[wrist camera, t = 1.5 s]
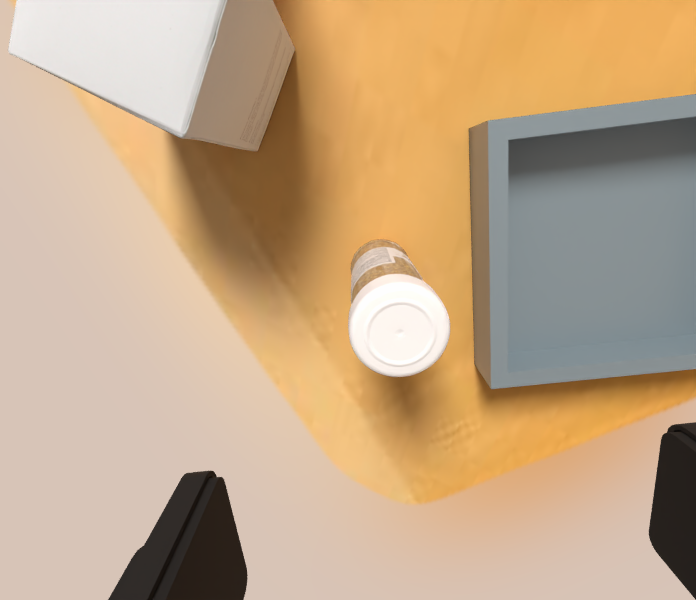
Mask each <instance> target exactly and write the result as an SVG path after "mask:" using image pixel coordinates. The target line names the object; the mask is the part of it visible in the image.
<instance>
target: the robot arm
mask: <svg viewBox="0 0 696 600" xmlns="http://www.w3.org/2000/svg"><path fill="white" fill-rule="evenodd" d="M649 537H650V541H651V543H652V545H653V547H654V549H655V550H656V552H657V553H658V555H659V556H660V557H661V558H662V559H663V561H664V562H665V563H666V564H667V565H668V567H669V568H670V569H671V570H672V571H673V573H674V574H675V575H676V576H677V577H678V579H679V580H680V581H681V582H682V584H683V585H684V586H685V587H686V588H687V590H688V591H689V592H690V593H691V594H692V596H693V597H694V598H695V599H696V423H685V424H676V425H672V426H671V427H669V428H668V431H667V433H665V434H664V435H663V436H662V439H661V445H660V453H659V461H658V467H657V475H656V482H655V490H654V497H653V504H652V512H651V519H650V527H649ZM246 586H247V568H246V564H245V560H244V556H243V552H242V548H241V544H240V540H239V536H238V533H237V529H236V524H235V521H234V517H233V513H232V509H231V505H230V501H229V497H228V493H227V489H226V485H225V482H224V479H223V478H222V477H216V474H215V473H214V471H203V472H193V473H186V474H185V475H184V476H183V477H182V478H181V480H180V482H179V484H178V486H177V487H176V489H175V491H174V493H173V495H172V497H171V499H170V500H169V502H168V504H167V505H166V507H165V509H164V511H163V513H162V514H161V516H160V518H159V520H158V522H157V523H156V525H155V527H154V529H153V530H152V532H151V534H150V536H149V538H148V539H147V541H146V543H145V545H144V546H143V547H141V548H140V549H139V550H138V551H137V552H136V553H135V555H134V556H133V558H132V559H131V561H130V563H129V564H128V566H127V568H126V570H125V571H124V573H123V575H122V577H121V579H120V580H119V582H118V584H117V585H116V587H115V589H114V591H113V592H112V594H111V596H110V598H109V599H108V600H243V599H244V595H245V591H246Z"/></svg>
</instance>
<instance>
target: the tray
mask: <svg viewBox="0 0 696 600" xmlns="http://www.w3.org/2000/svg"><path fill="white" fill-rule="evenodd" d="M469 160H470V201H471V241H472V282H473V323H474V363H475V366H476V367H477V369H478V370H479V372H480V373H481V375H482V376H483V378H484V379H485V381H486V382H487V384H488V385H489V387H490V388H491V389H498V388H508V387H518V386H528V385H538V384H548V383H559V382H569V381H579V380H589V379H599V378H609V377H619V376H630V375H640V374H650V373H660V372H670V371H680V370H690V369H696V94H694V95H686V96H678V97H670V98H662V99H654V100H646V101H639V102H631V103H623V104H615V105H607V106H599V107H592V108H584V109H576V110H568V111H560V112H552V113H545V114H537V115H529V116H521V117H513V118H505V119H498V120H490V121H486V122H484V123H481V124H479V125H476V126H474V127H472V128H469Z"/></svg>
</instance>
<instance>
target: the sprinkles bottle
mask: <svg viewBox="0 0 696 600" xmlns="http://www.w3.org/2000/svg"><path fill="white" fill-rule="evenodd" d="M351 275H352V277H351V308H350V312H349V322H348V328H349V338H350V343H351V345H352V348H353V350H354V352H355V354H356V355H357V357H358V358H359V360H360V361H361V362H362V363H363V364H364V365H366V366H367V367H368V368H370V369H371V370H373V371H375V372H377V373H379V374H382V375H385V376H391V377H406V376H411V375H414V374H417V373H420V372H422V371H424V370H426V369H427V368H429V367H430V366H431V365H433V364H434V363H435V362H436V361H437V360H438V359H439V358H440V356H441V355H442V353H443V352H444V350H445V348H446V346H447V343H448V340H449V336H450V320H449V316H448V313H447V310H446V308H445V306H444V304H443V303H442V301H441V299H440V298H439V297H438V295H437V294H436V293H435V291H434V290H433V289H432V288H431V287H430V286H429V285H428V284H427V283H425V282H424V281H423V279H422V277H421V276H420V274H419V272H418V271H417V269H416V268H415V266H414V265H413V263H412V262H411V261H410V259H409V258H408V256H407V254H406V252H405V251H404V250H403V249H402V248H401V247H400V246H399V245H398V244H396V243H394V242H392V241H389V240H384V239H380V240H372V241H370V242H368V243H366V244H364V245H363V246H361V247H360V248H359V249H358V251H357V252H356V253H355V254H354V257H353V260H352V263H351Z"/></svg>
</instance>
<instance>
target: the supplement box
mask: <svg viewBox="0 0 696 600" xmlns="http://www.w3.org/2000/svg"><path fill="white" fill-rule="evenodd" d="M294 51H295V47H294V45H293V43H292V41H291V39H290V36H289V34H288V32H287V30H286V28H285V26H284V24H283V21H282V19H281V17H280V15H279V13H278V10H277V8H276V6H275V4H274V2H273V0H17V2H16V7H15V13H14V19H13V25H12V31H11V36H10V42H9V47H8V52H9V54H11V55H14V56H16V57H18V58H20V59H22V60H24V61H26V62H28V63H30V64H32V65H34V66H36V67H38V68H40V69H42V70H44V71H46V72H48V73H50V74H52V75H54V76H56V77H58V78H60V79H62V80H64V81H67V82H69V83H71V84H73V85H75V86H77V87H79V88H81V89H83V90H85V91H87V92H89V93H91V94H93V95H95V96H97V97H99V98H100V99H102V100H104V101H106V102H108V103H110V104H112V105H114V106H116V107H118V108H120V109H122V110H124V111H126V112H128V113H130V114H132V115H134V116H136V117H138V118H140V119H143V120H145V121H147V122H149V123H151V124H153V125H155V126H157V127H159V128H161V129H163V130H165V131H167V132H169V133H171V134H173V135H175V136H177V137H179V138H182V139H194V140H200V141H205V142H210V143H215V144H219V145H223V146H228V147H232V148H237V149H243V150H249V151H256V152H257V151H258V149H259V146H260V144H261V141H262V139H263V136H264V134H265V131H266V128H267V126H268V123H269V120H270V117H271V115H272V112H273V109H274V106H275V103H276V101H277V98H278V95H279V92H280V90H281V87H282V84H283V81H284V78H285V76H286V73H287V70H288V67H289V64H290V62H291V59H292V56H293V53H294Z"/></svg>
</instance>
